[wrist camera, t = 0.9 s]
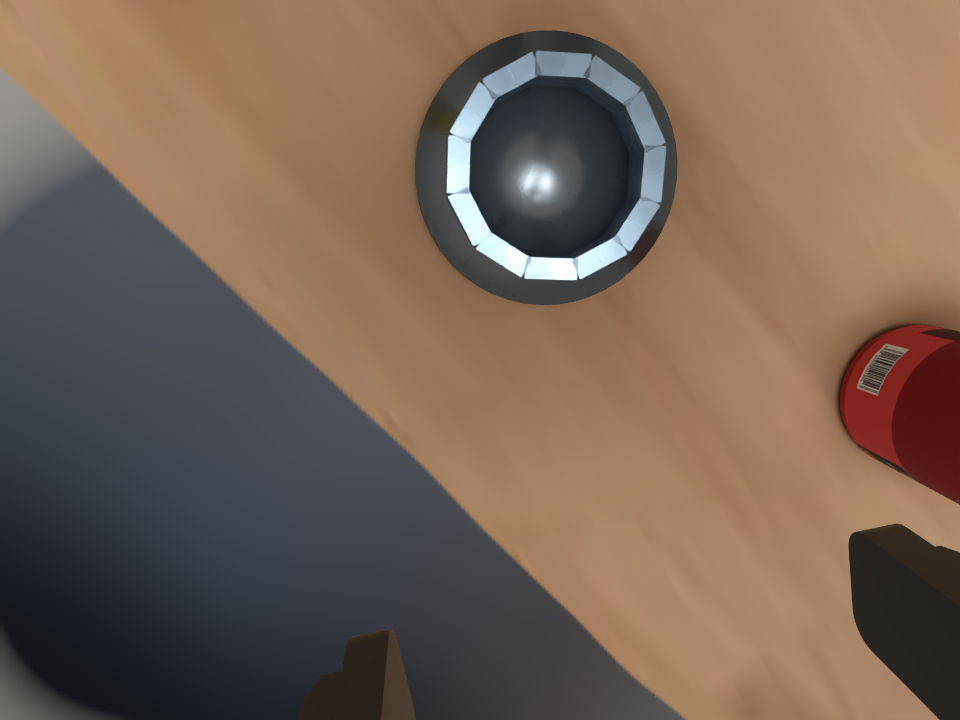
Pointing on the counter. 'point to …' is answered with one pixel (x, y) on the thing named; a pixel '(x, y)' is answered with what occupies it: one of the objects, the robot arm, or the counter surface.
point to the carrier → (546, 167)
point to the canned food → (908, 404)
